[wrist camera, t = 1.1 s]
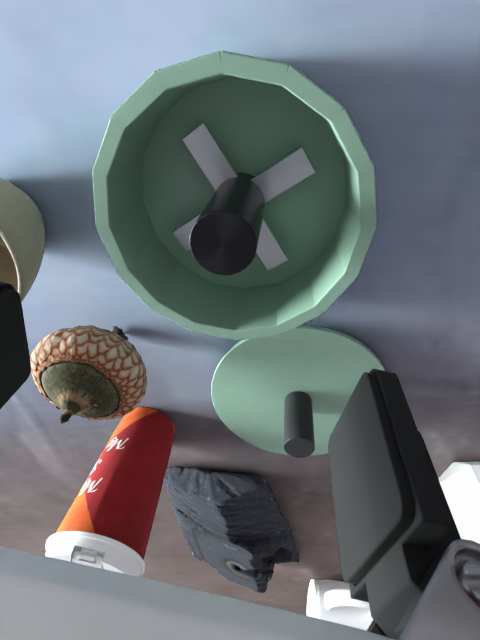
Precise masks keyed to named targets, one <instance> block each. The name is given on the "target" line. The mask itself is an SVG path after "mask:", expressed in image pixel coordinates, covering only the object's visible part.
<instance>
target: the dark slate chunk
mask: <svg viewBox="0 0 480 640" xmlns="http://www.w3.org/2000/svg"><path fill="white" fill-rule="evenodd" d="M163 483H164V484H165V486H166V487H167V493H168V494H169V495H168V496H169V498H170V500H171V503H172V506H173V509H174V512H175V515H176V517H177V519H178V521H179V526H180V528H181V529H182V531H183V534H184V537H185V539H186V540H187V544H188V546H189V547H190V550H191V553H192V555H193V556H195V557H196V558H197V559H199V560H203V561H205V562H206V563H208V564H209V565H210V566H212V567H213V568H215V569H216V570H217V571H218V572H219V573H220V574H221V575H222V576H224V577H225V578H227V580H229V581H232V582H234V583H237V584H240V585H243V586H246V587H248V588H250V589H252V590H254V591H256V592H261V593H264V592H265V591H266V589H267V583H268V581H269V580H271V578H272V574H273V568H274V564H275V562H276V563H277V564H278V563H282V562H299V560H300V558H299V553H298V552H297V549H296V545H295V543H294V540H293V536H292V535H291V531H290V530H289V527H288V525H287V524H286V522H285V519H284V516H283V514H282V513H281V512H280V509H279V507H278V505H277V503H276V502H275V499H274V497H273V494H272V491H271V489H270V487H269V485H268V484H267V483H266V481H265V480H264V479H263V478H262V477H261V476H259V475H242V474H239V473H226V472H213V471H209V470H205V469H198V468H186V467H179V466H177V467H174V468H167V469H166V472H165V476H164V480H163Z"/></svg>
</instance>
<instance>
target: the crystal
mask: <svg viewBox="0 0 480 640" xmlns="http://www.w3.org/2000/svg"><path fill="white" fill-rule="evenodd" d="M438 479H439V482H440V485H441V487H442V490H443V493H444V495H445V498H446V500H447V503H448V506H449V508H450V511H451V514H452V516H453V519H454V521H455V524H456V527H457V529H458V532H459V535H460V537H461V539H465V540H472V541H474V542H477V543H479V544H480V461H474V462H453V463H452V464H451V465H450V466H449V467H448V468H447V469H446V471H445V472H444V473H443V474H442V475H441V476H440V477H439V478H438Z"/></svg>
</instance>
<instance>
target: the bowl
mask: <svg viewBox="0 0 480 640" xmlns="http://www.w3.org/2000/svg"><path fill="white" fill-rule="evenodd" d="M203 122H205V123H206V125H207V126H208V128H209V129H210V131H211V133H212V134H213V136H214V138H215V139H216V141H217V142H218V144H219V146H220V147H221V149H222V151H223V152H224V154H225V155H226V157H227V159H228V160H229V162H230V164H231V165H232V167H233V168H234V170H235V172H236V173H238V172H243V173H248V174H251V175H253V176H254V177H255V176H257V175H258V174H260V173H262V172H263V171H265V170H266V169H268V168H269V167H271V166H272V165H274V164H275V163H277V162H278V161H280V160H281V159H283V158H284V157H286V156H287V155H289V154H290V153H292V152H293V151H295V150H296V149H298V148H299V147H301V146H303V148H304V150H305V152H306V154H307V156H308V157H309V159H310V161H311V163H312V165H313V167H314V169H315V173H314V174H312V175H310V176H309V177H307V178H305V179H304V180H302V181H301V182H299V183H297V184H296V185H294V186H292V187H291V188H289V189H288V190H286V191H284V192H283V193H281V194H280V195H278V196H276V197H275V198H273V199H271V200H270V201H268V202H267V203H266V204H265V209H264V214H263V217H264V219H265V220H266V222H267V224H268V225H269V227H270V229H271V230H272V232H273V233H274V235H275V237H276V238H277V240H278V242H279V243H280V245H281V246H282V248H283V250H284V251H285V253H286V255H287V256H288V261H286V262H284V263H282V264H280V265H279V266H277V267H275V268H273V269H271V270H269V271H268V270H267V269H266V267H265V266H264V264H263V263H262V261H261V260H260V258H259V257H258V255H257V254H256V255H255V257H254V259H253V261H252V263H251V264H250V265H249V266H248V267H247V268H246V269H244V270H243V271H241V272H239V273H236V274H233V275H218V274H214V273H211V272H209V271H207V270H206V269H204V268H203V267H202V266H201V265H200V264H199V263H198V262H197V261H196V260H195V258H194V256H193V254H192V252H191V249H190V250H189V251H186V250H185V249H184V247H183V246H182V245H181V243H180V242H179V241H178V239H177V238H176V237H175V235H174V234H173V233H172V232H173V231H174V230H175V229H176V228H178V227H180V226H181V225H183V224H184V223H186V222H187V221H189V220H190V219H192V218H193V217H195V216H196V215H198V214H199V213H201V212H202V211H203V210H204V208H205V207H206V205H207V204H208V202H209V201H210V199H211V198H212V196H213V195H214V193H215V192H216V191H215V190H214V188H213V187H212V185H211V183H210V182H209V180H208V179H207V177H206V176H205V174H204V173H203V171H202V170H201V168H200V167H199V165H198V164H197V162H196V161H195V159H194V158H193V156H192V155H191V153H190V152H189V150H188V148H187V147H186V145H185V144H184V142H183V141H182V139H183V138H184V137H185V136H186V135H188V134H189V133H190V132H192V131H193V130H194V129H195V128H197V127H198V126H199V125H201V124H202V123H203ZM92 171H93V172H92V179H93V193H94V208H95V222H96V229H97V231H98V233H99V235H100V237H101V240H102V242H103V244H104V246H105V248H106V251H107V253H108V255H109V257H110V259H111V262H112V264H113V266H114V268H115V270H116V273H118V275H119V276H120V277H121V278H122V279H123V280H124V281H125V283H126V284H127V285H128V286H129V287H130V288H131V289H132V290H133V291H134V292H135V293H136V294H137V295H138V296H139V297H140V298H141V300H142V301H143V302H144V303H145V304H146V305H147V306H148V307H149V308H150V309H151V310H153V311H155V312H157V313H158V314H160V315H162V316H164V317H166V318H167V319H169V320H171V321H173V322H175V323H177V324H178V325H180V326H182V327H184V328H186V329H187V330H189V331H192V332H196V333H201V334H206V335H211V336H216V337H221V338H226V339H231V340H245V339H253V338H261V337H270V336H278V335H281V334H284V333H286V332H288V331H290V330H292V329H294V328H296V327H298V326H300V325H302V324H304V323H306V322H308V321H310V320H312V319H314V318H316V317H319V316H321V315H322V314H324V313H325V312H326V311H327V310H328V309H329V307H330V306H331V305H332V304H333V303H334V302H335V301H336V300H337V299H338V298H339V297H340V296H341V295H342V294H343V293H344V291H345V290H346V289H347V288H348V287H349V286H350V285H351V284H352V283H353V282H354V281H355V280H356V278H357V277H358V275H359V272H360V270H361V267H362V265H363V262H364V260H365V257H366V254H367V252H368V249H369V247H370V244H371V241H372V239H373V236H374V234H375V231H376V228H377V209H376V182H375V167H374V164H373V162H372V160H371V158H370V156H369V154H368V152H367V150H366V148H365V146H364V144H363V142H362V139H361V137H360V135H359V133H358V131H357V129H356V127H355V125H354V123H353V121H352V119H351V117H350V115H349V113H348V111H347V109H346V108H344V106H343V105H342V104H341V103H340V102H338V101H337V100H336V99H335V98H333V97H332V96H331V95H329V94H328V93H327V92H326V91H324V90H323V89H322V88H320V87H319V86H318V85H317V84H315V83H314V82H313V81H311V80H310V79H309V78H308V77H306V76H305V75H304V74H302V73H301V72H300V71H299V70H297V69H296V68H295V67H294V66H292V65H289V64H288V63H284V62H279V61H274V60H268V59H263V58H258V57H253V56H248V55H243V54H237V53H232V52H227V51H217V52H214V53H211V54H207V55H204V56H201V57H198V58H194V59H191V60H188V61H185V62H181V63H178V64H175V65H172V66H168V67H165V68H162V69H159V70H158V71H155V72H154V73H153V74H152V75H151V76H150V77H149V78H148V79H147V80H146V81H145V82H144V83H143V84H142V85H141V86H140V87H139V88H138V89H137V90H136V91H135V92H134V93H133V94H132V95H131V96H130V97H129V98H128V99H127V100H126V101H125V102H124V103H123V104H122V105H121V106H120V107H119V108H118V109H117V110H116V111H115V112H114V113H113V114H112V116H111V118H110V121H109V123H108V126H107V129H106V132H105V135H104V138H103V141H102V144H101V147H100V149H99V152H98V155H97V158H96V161H95V164H94V167H93V170H92Z"/></svg>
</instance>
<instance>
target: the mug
mask: <svg viewBox="0 0 480 640" xmlns="http://www.w3.org/2000/svg"><path fill="white" fill-rule="evenodd" d="M307 616H310V617H314V618H318V619H322V620H326V621H330V622H334V623H338V624H342V625H346V626H350V627H354V628H358V629H362V630H365V631H367V629H368V627H369V626H370V624H371V622H372V621H373V618H372V617H371V613H370V607H369V602H365V601H360V600H356V599H351V595H350V587H349V583H348V582H342V581H336V580H330V579H323V580H315V579H312V580H311V581H310V584H309V590H308V599H307Z"/></svg>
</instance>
